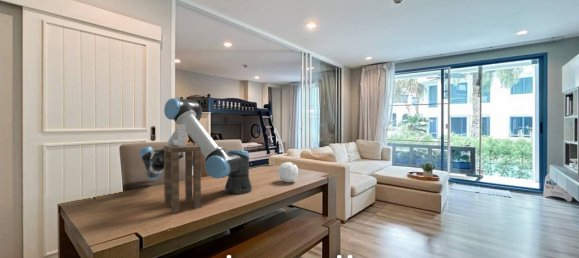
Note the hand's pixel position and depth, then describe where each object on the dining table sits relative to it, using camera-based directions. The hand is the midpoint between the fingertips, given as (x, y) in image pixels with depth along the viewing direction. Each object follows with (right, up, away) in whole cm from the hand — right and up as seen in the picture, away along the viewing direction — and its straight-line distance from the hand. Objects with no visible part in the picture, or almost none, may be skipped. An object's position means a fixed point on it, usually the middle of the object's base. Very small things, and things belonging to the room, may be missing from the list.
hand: (167, 150), depth 130 cm
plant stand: (+14, -25, -15) cm, 32 cm away
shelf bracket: (+11, +3, -11) cm, 15 cm away
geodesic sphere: (+63, -24, +33) cm, 75 cm away
